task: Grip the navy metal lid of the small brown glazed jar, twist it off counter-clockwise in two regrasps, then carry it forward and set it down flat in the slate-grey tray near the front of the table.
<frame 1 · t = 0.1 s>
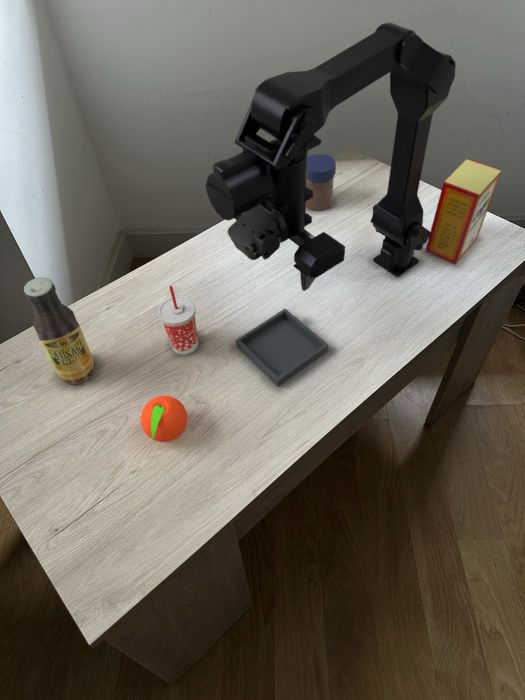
hand: (285, 273, 80), 15 cm above the table, tool pointing down, fingers open, 9 cm apart
clementine: (167, 433, 80), on the table
baking soda box: (451, 245, 104), on the table
tray: (281, 349, 89), on the table
lid: (319, 164, 108), point 9 cm above the table, screwed on, not yet turned
beverage cup: (185, 344, 91), on the table
jar: (317, 202, 115), on the table
sauce bottle: (79, 371, 88), on the table
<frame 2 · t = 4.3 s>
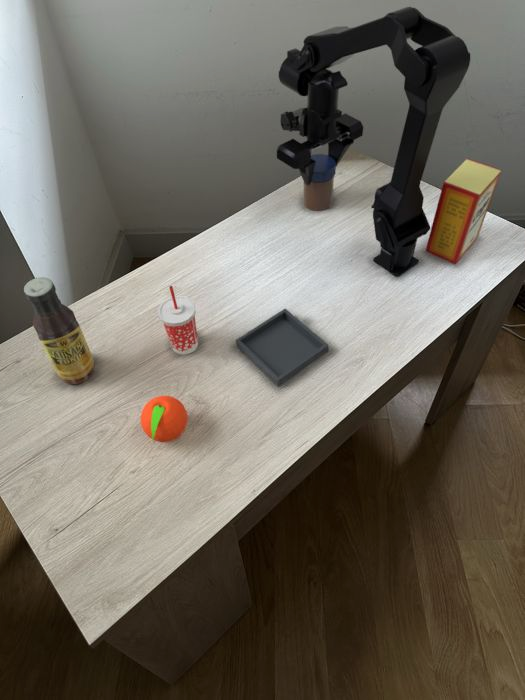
hand: (318, 177, 110), 6 cm above the table, tool pointing down, fingers closed on lid, 6 cm apart
lid: (319, 165, 108), point 9 cm above the table, screwed on, not yet turned, touching gripper
everything else where it was.
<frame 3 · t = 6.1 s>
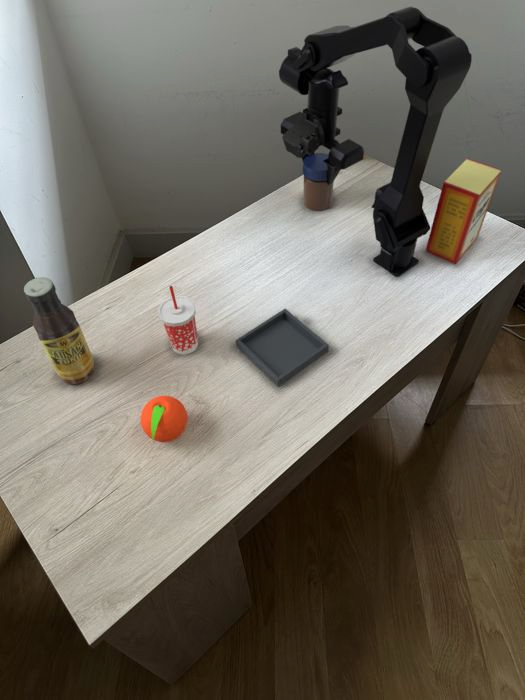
hand: (318, 176, 110), 6 cm above the table, tool pointing down, fingers closed on lid, 6 cm apart
lid: (319, 163, 107), point 9 cm above the table, turned 90° so far, risen 0.2 cm, still on its thread, touching gripper
everything else where it was.
when the fingers open (6 cm above the table, at t = 8.2 s): lid stays where it is, point 9 cm above the table.
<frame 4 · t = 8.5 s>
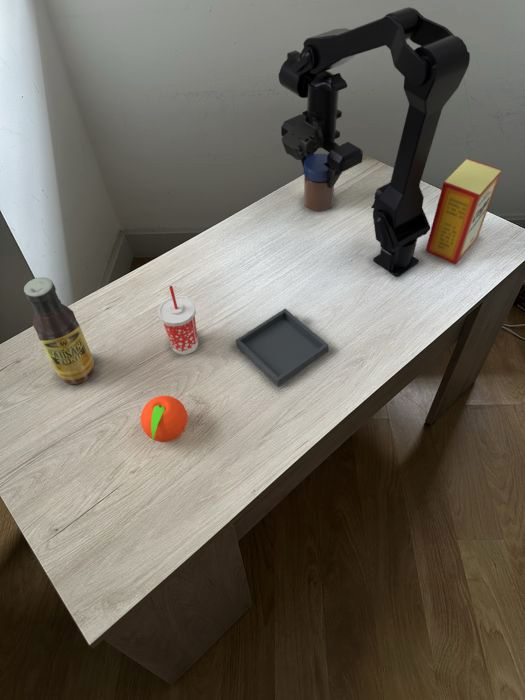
hand: (318, 179, 110), 6 cm above the table, tool pointing down, fingers open, 7 cm apart
lid: (320, 164, 107), point 9 cm above the table, turned 90° so far, risen 0.2 cm, still on its thread
everything else where it was.
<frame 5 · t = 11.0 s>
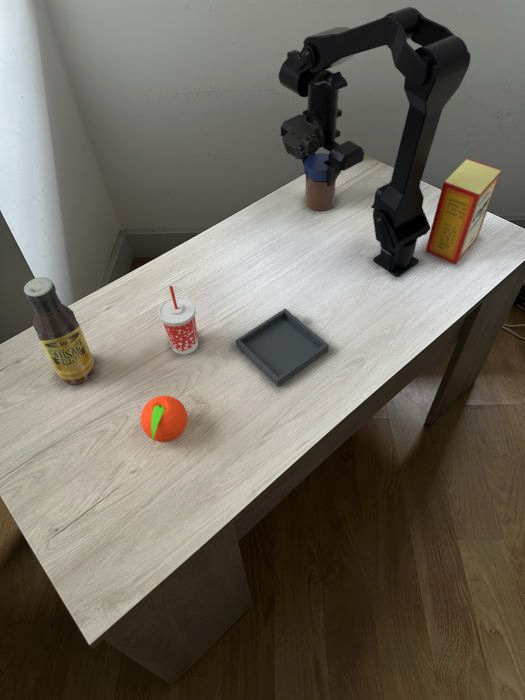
hand: (319, 179, 110), 6 cm above the table, tool pointing down, fingers closed on lid, 6 cm apart
lid: (321, 164, 107), point 9 cm above the table, off its thread, touching gripper
jar: (319, 202, 115), on the table, touching gripper
everything else where it was.
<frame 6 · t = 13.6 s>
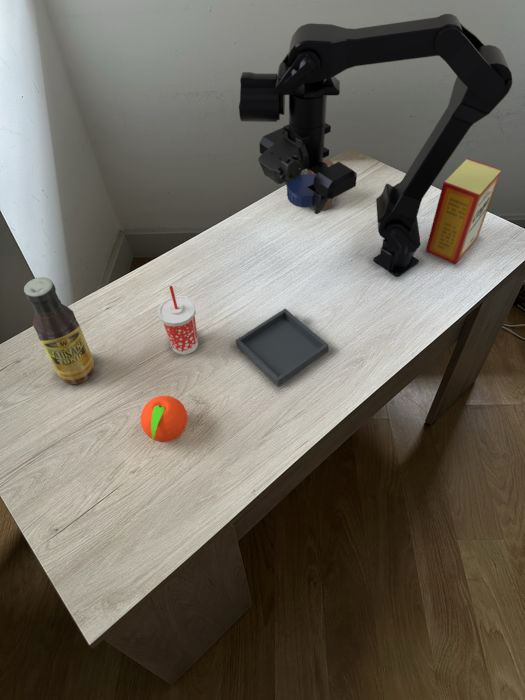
hand: (304, 204, 93), 13 cm above the table, tool pointing down, fingers closed on lid, 6 cm apart
lid: (306, 187, 91), point 16 cm above the table, off its thread, touching gripper
jar: (319, 202, 115), on the table
everything else where it was.
when the fingers open (2 cm above the table, at t = 18.1 s): lid drops 3 cm, resting on tray.
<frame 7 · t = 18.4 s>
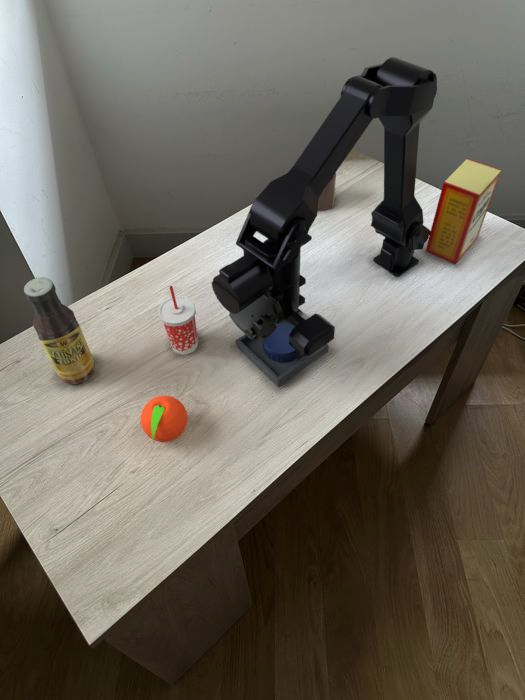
hand: (281, 342, 88), 2 cm above the table, tool pointing down, fingers open, 9 cm apart
lid: (282, 340, 88), point 2 cm above the table, off its thread, touching tray
everything else where it was.
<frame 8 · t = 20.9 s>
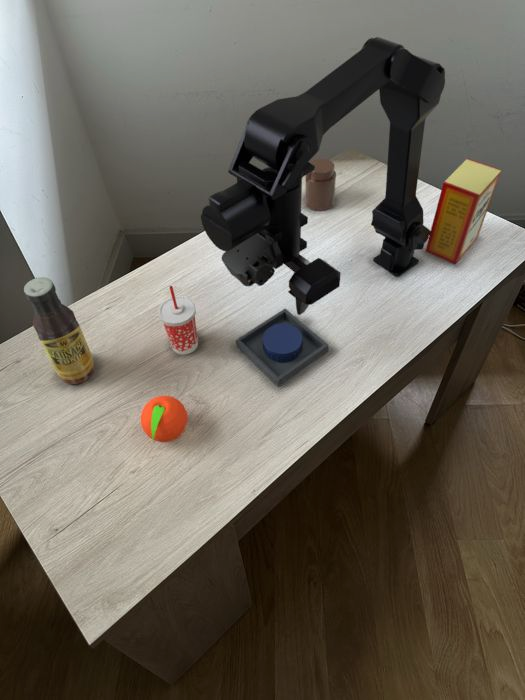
hand: (280, 296, 79), 13 cm above the table, tool pointing down, fingers open, 9 cm apart
nothing on the table moved.
at the end: lid came off its thread; lid inside the target area in the tray (0.3 cm from its centre), point 2.3 cm above the tray's base; the gripper is holding nothing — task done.
